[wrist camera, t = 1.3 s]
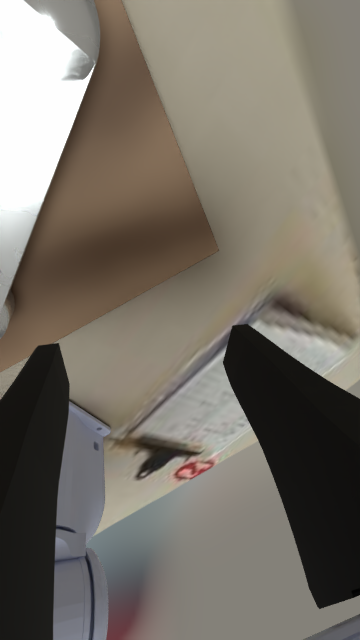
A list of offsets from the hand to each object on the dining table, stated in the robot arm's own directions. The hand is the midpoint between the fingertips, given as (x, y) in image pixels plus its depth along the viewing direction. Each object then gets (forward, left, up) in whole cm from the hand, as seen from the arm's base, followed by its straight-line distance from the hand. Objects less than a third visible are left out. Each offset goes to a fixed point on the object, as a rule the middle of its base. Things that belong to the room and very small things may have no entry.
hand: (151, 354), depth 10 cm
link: (+6, +3, -7) cm, 10 cm away
